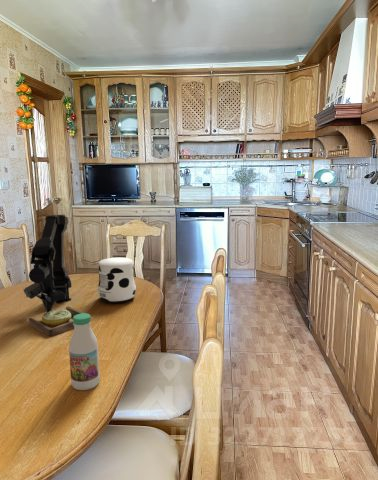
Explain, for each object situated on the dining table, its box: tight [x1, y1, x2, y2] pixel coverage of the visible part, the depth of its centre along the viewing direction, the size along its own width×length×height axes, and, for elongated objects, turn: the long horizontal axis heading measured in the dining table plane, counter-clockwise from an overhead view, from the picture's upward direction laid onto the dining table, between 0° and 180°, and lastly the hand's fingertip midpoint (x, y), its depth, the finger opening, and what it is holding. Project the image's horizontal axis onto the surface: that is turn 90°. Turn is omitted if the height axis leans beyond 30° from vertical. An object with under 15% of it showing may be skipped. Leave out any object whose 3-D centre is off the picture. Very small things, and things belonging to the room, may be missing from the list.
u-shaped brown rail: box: [28, 305, 83, 338], centre depth 142 cm, size 17×16×2 cm
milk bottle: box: [68, 312, 101, 391], centre depth 100 cm, size 8×8×20 cm
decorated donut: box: [41, 308, 72, 327], centre depth 144 cm, size 10×11×4 cm
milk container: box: [97, 257, 137, 304], centre depth 167 cm, size 17×17×18 cm
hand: (48, 312), depth 147 cm, fingers closed
